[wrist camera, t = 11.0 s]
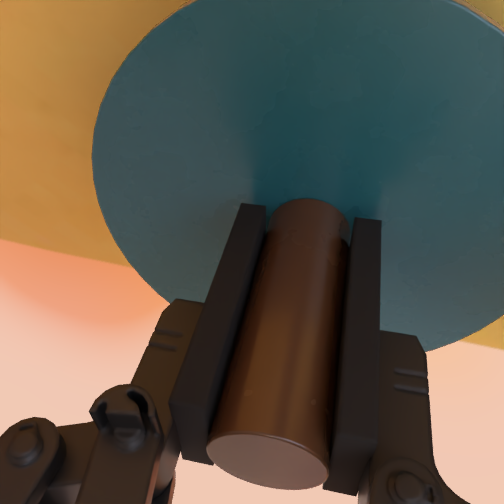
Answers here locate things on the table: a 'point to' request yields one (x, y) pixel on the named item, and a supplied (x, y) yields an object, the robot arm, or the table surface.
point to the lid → (310, 190)
